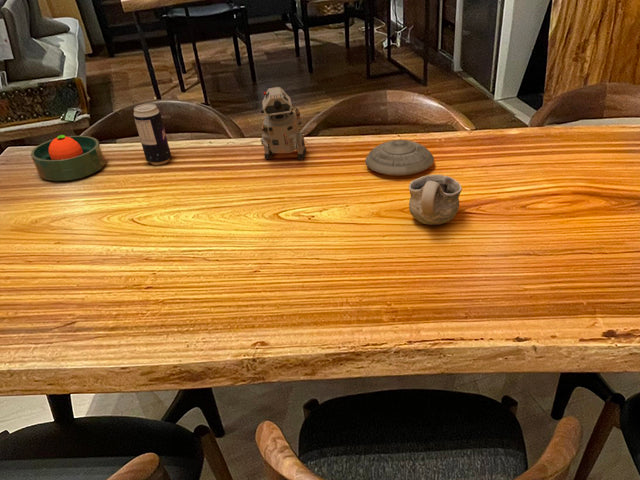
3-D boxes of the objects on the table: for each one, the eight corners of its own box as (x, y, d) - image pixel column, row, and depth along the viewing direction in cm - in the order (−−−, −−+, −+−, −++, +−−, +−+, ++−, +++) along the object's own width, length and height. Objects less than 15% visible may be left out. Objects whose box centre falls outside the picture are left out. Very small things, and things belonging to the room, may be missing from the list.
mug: (458, 208, 121) (462, 158, 114) (461, 241, 112) (464, 188, 105) (409, 208, 122) (409, 158, 115) (407, 241, 112) (407, 188, 106)
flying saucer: (378, 149, 144) (377, 125, 140) (441, 156, 140) (442, 132, 136) (355, 176, 133) (354, 151, 130) (422, 184, 129) (423, 159, 126)
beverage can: (173, 163, 142) (160, 109, 134) (148, 168, 140) (132, 113, 132) (170, 154, 146) (156, 101, 138) (145, 158, 144) (130, 105, 136)
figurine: (259, 171, 137) (247, 100, 127) (270, 150, 145) (260, 82, 135) (299, 171, 136) (291, 100, 126) (308, 150, 145) (301, 82, 135)
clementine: (56, 162, 143) (44, 131, 138) (88, 158, 144) (77, 127, 139) (54, 176, 137) (42, 144, 132) (87, 171, 138) (76, 139, 134)
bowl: (37, 187, 134) (28, 165, 131) (42, 162, 144) (33, 141, 141) (106, 176, 137) (98, 154, 134) (105, 153, 147) (98, 132, 144)
